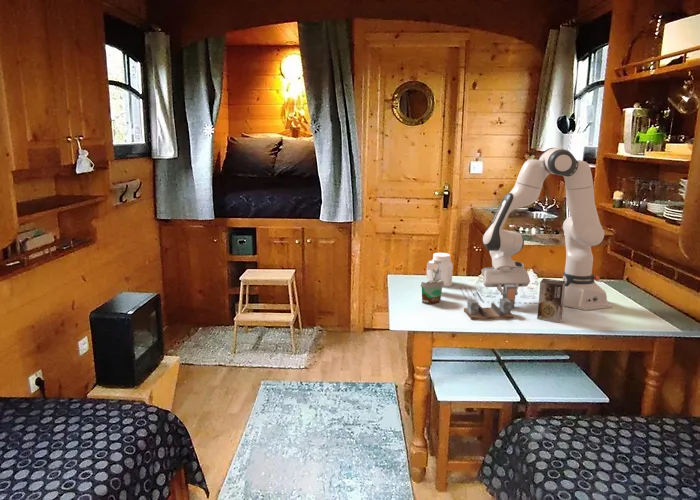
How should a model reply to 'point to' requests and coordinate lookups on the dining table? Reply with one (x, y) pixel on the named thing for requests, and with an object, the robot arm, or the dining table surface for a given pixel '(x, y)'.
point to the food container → (432, 291)
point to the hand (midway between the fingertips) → (509, 294)
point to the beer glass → (434, 270)
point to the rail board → (489, 310)
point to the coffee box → (551, 300)
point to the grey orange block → (510, 293)
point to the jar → (445, 267)
